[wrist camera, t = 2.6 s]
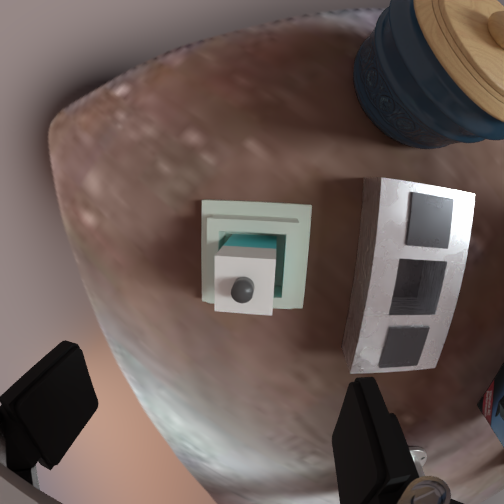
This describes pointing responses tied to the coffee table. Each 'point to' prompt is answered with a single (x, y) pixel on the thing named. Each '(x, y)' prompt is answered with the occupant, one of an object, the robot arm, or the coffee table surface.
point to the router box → (495, 405)
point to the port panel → (406, 274)
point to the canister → (434, 72)
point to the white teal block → (246, 274)
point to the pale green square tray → (259, 223)
